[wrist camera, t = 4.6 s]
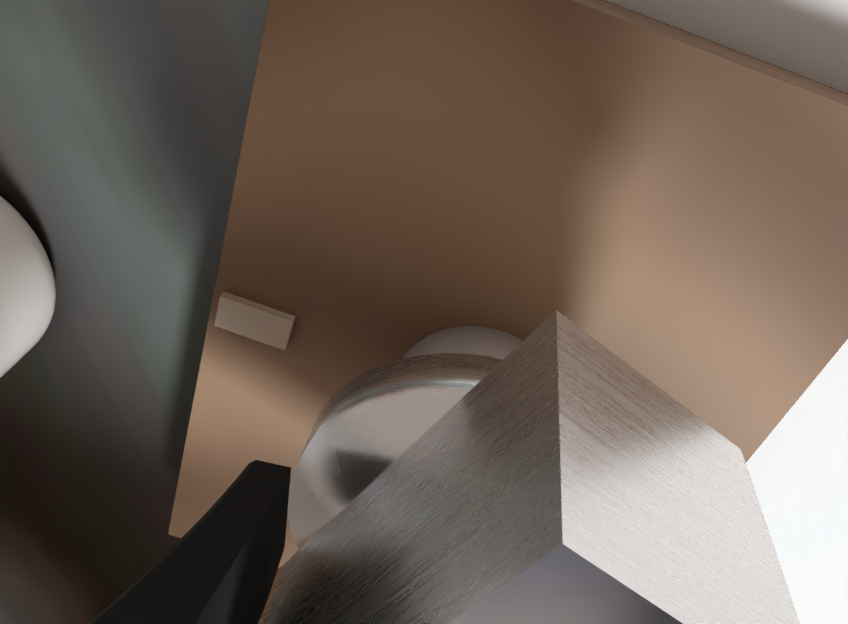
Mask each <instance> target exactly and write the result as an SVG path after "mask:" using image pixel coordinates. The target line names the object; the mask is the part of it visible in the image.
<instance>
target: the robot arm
mask: <svg viewBox="0 0 848 624" xmlns="http://www.w3.org/2000/svg"><path fill="white" fill-rule="evenodd" d="M290 476H291V467H287V466H282V465H278V464H273V463H269V462H264V461H260V460H254V461H252V462H250V463H249V464H248V465H247V466H246V468H245V469H244V470H243V471H242V473H241V474H240V475H239V476H238V477H237V479H236V480H235V481H234V482H233V483H232V484H231V486H230V487H229V488H228V489H227V490H226V491H225V492H224V494H223V495H222V496H221V497H220V498H219V499H218V500H217V501H216V503H215V504H214V505H213V506H212V507H211V508H210V509H209V510H208V511H207V512H206V513H205V514H204V515H203V516H202V518H201V519H200V520H199V521H198V522H197V523H196V524H195V525H194V526H193V527H192V528H191V529H190V530H189V531H188V532H187V533H186V534H185V535H184V536H183V537H182V538H181V539H180V540H179V541H178V542H177V543H176V544H175V545H174V546H173V547H172V548H171V549H170V550H169V551H168V552H167V553H166V554H165V555H164V556H163V557H162V558H161V559H160V560H159V561H158V562H156V563H155V564H154V565H153V566H152V567H151V568H150V569H149V570H148V571H147V572H145V573H144V574H143V575H142V576H141V577H140V578H139V579H138V580H137V581H136V582H134V583H133V584H132V585H131V586H130V587H129V588H128V589H127V590H126V591H125V592H123V593H122V594H121V595H120V596H119V597H118V598H117V599H116V600H114V601H113V602H112V603H111V604H110V605H109V606H107V607H106V608H105V609H104V610H103V611H101V612H100V613H99V614H98V615H97V616H96V617H94V618H93V619H92V620H91V621H89V622H88V623H87V624H258V622H259V620H260V617H261V615H262V613H263V610H264V608H265V606H266V603H267V600H268V597H269V594H270V591H271V588H272V585H273V582H274V579H275V576H276V573H277V570H278V567H279V563H280V560H281V557H282V554H283V551H284V548H285V537H286V525H287V512H288V500H289V488H290Z"/></svg>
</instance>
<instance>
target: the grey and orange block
mask: <svg viewBox="0 0 848 624" xmlns="http://www.w3.org/2000/svg"><path fill="white" fill-rule="evenodd" d="M288 520H289V524H290V528H291V532H292V535H293V538H294V540H295V542H296V545H297V547H298V549H299V551H298V552H296V553H295V554H294V555H293V556H292V557H291V558H290V559H289V560H288V561H287V562H286V563H285V564H284V565H283V566H281V567H280V568H278V570H277V573H276V576H275V579H274V582H273V585H272V588H271V591H270V594H269V597H268V600H267V603H266V606H265V608H264V610H263V613H262V615H261V617H260V620H259V622H258V624H800V623H799V620H798V617H797V614H796V611H795V608H794V605H793V602H792V599H791V596H790V593H789V590H788V587H787V584H786V582H785V579H784V576H783V573H782V570H781V567H780V564H779V561H778V558H777V555H776V552H775V549H774V546H773V543H772V540H771V537H770V534H769V531H768V528H767V525H766V522H765V519H764V516H763V513H762V510H761V507H760V504H759V502H758V499H757V496H756V493H755V490H754V487H753V484H752V481H751V478H750V475H749V472H748V469H747V466H746V463H745V460H744V457H743V454H742V451H741V449H740V448H738V447H737V446H736V445H734V444H733V443H732V442H730V441H729V440H728V439H726V438H725V437H724V436H722V435H721V434H720V433H718V432H717V431H716V430H714V429H713V428H712V427H711V426H709V425H708V424H707V423H705V422H704V421H703V420H701V419H700V418H699V417H697V416H696V415H695V414H693V413H692V412H691V411H689V410H688V409H687V408H685V407H684V406H683V405H681V404H680V403H679V402H677V401H676V400H675V399H673V398H672V397H671V396H669V395H668V394H667V393H665V392H664V391H663V390H662V389H660V388H659V387H658V386H656V385H655V384H654V383H652V382H651V381H650V380H648V379H647V378H646V377H644V376H643V375H642V374H640V373H639V372H638V371H636V370H635V369H634V368H632V367H631V366H630V365H628V364H627V363H626V362H624V361H623V360H622V359H620V358H619V357H618V356H616V355H615V354H614V353H613V352H611V351H610V350H609V349H607V348H606V347H605V346H603V345H602V344H601V343H599V342H598V341H597V340H595V339H594V338H593V337H591V336H590V335H589V334H587V333H586V332H585V331H583V330H582V329H581V328H579V327H578V326H577V325H575V324H574V323H573V322H571V321H570V320H569V319H567V318H566V317H565V316H564V315H562V314H561V313H560V312H558V311H557V310H556V311H555V312H554V313H553V314H551V315H550V316H549V317H548V318H547V319H546V320H545V321H544V322H543V323H542V324H541V325H540V326H539V327H538V328H536V329H535V330H534V331H533V332H532V333H531V334H530V335H529V336H528V337H527V338H526V339H525V340H524V341H523V342H521V343H520V344H519V345H518V346H517V347H516V348H515V349H514V350H513V351H512V352H511V353H510V354H509V355H508V356H506V357H505V358H504V359H499V358H494V357H490V356H482V355H474V354H466V353H437V354H427V355H418V356H413V357H408V358H404V359H399V360H395V361H392V362H390V363H387V364H384V365H381V366H378V367H376V368H374V369H372V370H370V371H368V372H366V373H364V374H362V375H359V376H358V377H357V378H355V379H354V380H352V381H351V382H349V383H348V384H346V385H345V386H343V387H342V388H341V389H340V390H339V391H338V392H337V393H336V394H335V395H334V396H333V397H332V398H331V399H330V400H329V401H328V403H327V404H326V405H325V406H324V408H323V409H322V410H321V412H320V413H319V415H318V417H317V419H316V421H315V423H314V425H313V427H312V429H311V432H310V434H309V436H308V439H307V441H306V444H305V446H304V449H303V451H302V453H301V456H300V458H299V461H298V463H297V465H296V468H295V470H294V473H293V476H292V479H291V482H290V488H289V500H288Z"/></svg>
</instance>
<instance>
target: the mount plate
mask: <svg viewBox="0 0 848 624" xmlns="http://www.w3.org/2000/svg"><path fill="white" fill-rule="evenodd" d="M556 310H557V311H558V312H560V313H561V314H562V315H564V316H565V317H566V318H567V319H569V320H570V321H571V322H573V323H574V324H575V325H577V326H578V327H579V328H581V329H582V330H583V331H585V332H586V333H587V334H589V335H590V336H591V337H593V338H594V339H595V340H597V341H598V342H599V343H601V344H602V345H603V346H605V347H606V348H607V349H609V350H610V351H611V352H613V353H614V354H615V355H616V356H618V357H619V358H620V359H622V360H623V361H624V362H626V363H627V364H628V365H630V366H631V367H632V368H634V369H635V370H636V371H638V372H639V373H640V374H642V375H643V376H644V377H646V378H647V379H648V380H650V381H651V382H652V383H654V384H655V385H656V386H658V387H659V388H660V389H662V390H663V391H664V392H665V393H667V394H668V395H669V396H671V397H672V398H673V399H675V400H676V401H677V402H679V403H680V404H681V405H683V406H684V407H685V408H687V409H688V410H689V411H691V412H692V413H693V414H695V415H696V416H697V417H699V418H700V419H701V420H703V421H704V422H705V423H707V424H708V425H709V426H711V427H712V428H713V429H714V430H716V431H717V432H718V433H720V434H721V435H722V436H724V437H725V438H726V439H728V440H729V441H730V442H732V443H733V444H734V445H736V446H737V447H738V448H740V449H741V451H742V454H743V457H744V460H745V463H746V462H747V461H748V460H749V458H750V457H751V456H752V455H753V453H754V452H755V451H756V450H757V449H758V447H759V446H760V445H761V444H762V442H763V441H764V440H765V439H766V438H767V436H768V435H769V434H770V433H771V432H772V430H773V429H774V428H775V427H776V425H777V424H778V423H779V422H780V421H781V419H782V418H783V417H784V416H785V414H786V413H787V412H788V411H789V410H790V408H791V407H792V406H793V405H794V403H795V402H796V401H797V400H798V399H799V397H800V396H801V395H802V394H803V393H804V391H805V390H806V389H807V388H808V386H809V385H810V384H811V383H812V382H813V380H814V379H815V378H816V377H817V375H818V374H819V373H820V372H821V371H822V369H823V368H824V367H825V366H826V364H827V363H828V362H829V361H830V360H831V358H832V357H833V356H834V355H835V354H836V352H837V351H838V350H839V349H840V347H841V346H842V345H843V344H844V343H845V341H846V340H847V339H848V94H846V93H844V92H841V91H838V90H836V89H833V88H831V87H828V86H825V85H823V84H820V83H818V82H815V81H813V80H810V79H807V78H805V77H802V76H800V75H797V74H794V73H792V72H789V71H787V70H784V69H781V68H779V67H776V66H774V65H771V64H768V63H766V62H763V61H761V60H758V59H755V58H753V57H750V56H748V55H745V54H743V53H740V52H737V51H735V50H732V49H730V48H727V47H724V46H722V45H719V44H717V43H714V42H711V41H709V40H706V39H704V38H701V37H698V36H696V35H693V34H691V33H688V32H686V31H683V30H680V29H678V28H675V27H673V26H670V25H667V24H665V23H662V22H660V21H657V20H654V19H652V18H649V17H647V16H644V15H641V14H639V13H636V12H634V11H631V10H628V9H626V8H623V7H621V6H618V5H616V4H613V3H610V2H608V1H605V0H269V4H268V9H267V14H266V20H265V25H264V30H263V36H262V41H261V46H260V51H259V57H258V62H257V67H256V72H255V78H254V83H253V88H252V94H251V99H250V104H249V109H248V115H247V120H246V125H245V131H244V136H243V141H242V146H241V152H240V157H239V162H238V167H237V173H236V178H235V183H234V189H233V194H232V199H231V204H230V210H229V215H228V220H227V225H226V231H225V236H224V241H223V247H222V252H221V257H220V262H219V268H218V273H217V278H216V284H215V289H214V294H213V299H212V305H211V310H210V315H209V320H208V326H207V331H206V336H205V342H204V347H203V352H202V357H201V363H200V368H199V373H198V379H197V384H196V389H195V394H194V400H193V405H192V410H191V415H190V421H189V426H188V431H187V437H186V442H185V447H184V452H183V458H182V463H181V468H180V474H179V479H178V484H177V489H176V495H175V500H174V505H173V510H172V516H171V521H170V526H169V532H168V534H169V535H172V536H175V537H178V538H182V537H183V536H184V535H185V534H186V533H187V532H188V531H189V530H190V529H191V528H192V527H193V526H194V525H195V524H196V523H197V522H198V521H199V520H200V519H201V518H202V516H203V515H204V514H205V513H206V512H207V511H208V510H209V509H210V508H211V507H212V506H213V505H214V504H215V503H216V501H217V500H218V499H219V498H220V497H221V496H222V495H223V494H224V492H225V491H226V490H227V489H228V488H229V487H230V486H231V484H232V483H233V482H234V481H235V480H236V479H237V477H238V476H239V475H240V474H241V473H242V471H243V470H244V469H245V468H246V466H247V465H248V464H249V463H250V462H252V461H254V460H260V461H264V462H269V463H273V464H278V465H282V466H287V467H291V476H290V482H291V479H292V476H293V473H294V470H295V468H296V465H297V463H298V461H299V458H300V456H301V453H302V451H303V449H304V446H305V444H306V441H307V439H308V436H309V434H310V432H311V429H312V427H313V425H314V423H315V421H316V419H317V417H318V415H319V413H320V412H321V410H322V409H323V408H324V406H325V405H326V404H327V403H328V401H329V400H330V399H331V398H332V397H333V396H334V395H335V394H336V393H337V392H338V391H339V390H340V389H341V388H342V387H343V386H345V385H346V384H348V383H349V382H351V381H352V380H354V379H355V378H357V377H358V376H359V375H362V374H364V373H366V372H368V371H370V370H372V369H374V368H376V367H378V366H381V365H384V364H387V363H390V362H392V361H395V360H399V359H404V358H408V357H413V356H418V355H427V354H437V353H466V354H474V355H482V356H490V357H494V358H499V359H504V358H505V357H506V356H508V355H509V354H510V353H511V352H512V351H513V350H514V349H515V348H516V347H517V346H518V345H519V344H520V343H521V342H523V341H524V340H525V339H526V338H527V337H528V336H529V335H530V334H531V333H532V332H533V331H534V330H535V329H536V328H538V327H539V326H540V325H541V324H542V323H543V322H544V321H545V320H546V319H547V318H548V317H549V316H550V315H551V314H553V313H554V312H555V311H556ZM298 551H299V549H298V547H297V545H296V542H295V540H294V538H293V535H292V532H291V528H290V524H289V520H288V512H287V525H286V537H285V548H284V551H283V554H282V557H281V560H280V563H279V567H278V568H280V567H281V566H283V565H284V564H285V563H286V562H287V561H288V560H289V559H290V558H291V557H292V556H293V555H294V554H295V553H296V552H298Z"/></svg>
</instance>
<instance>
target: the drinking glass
mask: <svg viewBox="0 0 848 624" xmlns="http://www.w3.org/2000/svg"><path fill="white" fill-rule="evenodd" d="M55 302H56V286H55V279H54V274H53V270H52V267H51V264H50V261H49V258H48V256H47V254H46V251H45V249H44V247H43V245H42V244H41V242H40V240H39V238H38V237H37V235H36V234H35V232H34V231H33V229H32V228H31V227H30V225H29V224H28V223H27V221H26V220H25V219H24V218H23V217H22V216H21V214H20V213H19V212H18V211H17V210H16V209H15V208H14V207H13V206H12V205H11V204H10V203H8V202H7V201H6V200H5V199H4V198H3V197H2V196H0V378H1V377H2V376H3V375H4V374H5V373H6V372H7V371H9V370H10V369H11V368H12V367H13V366H14V365H15V364H16V363H17V362H18V361H19V360H20V359H21V358H22V357H23V356H24V355H26V354H27V353H28V352H29V351H30V350H31V349H32V348H33V347H34V346H35V345H36V344H37V342H38V341H39V340H40V339H41V337H42V336H43V335H44V333H45V332H46V330H47V328H48V326H49V324H50V322H51V319H52V317H53V313H54V309H55Z"/></svg>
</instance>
